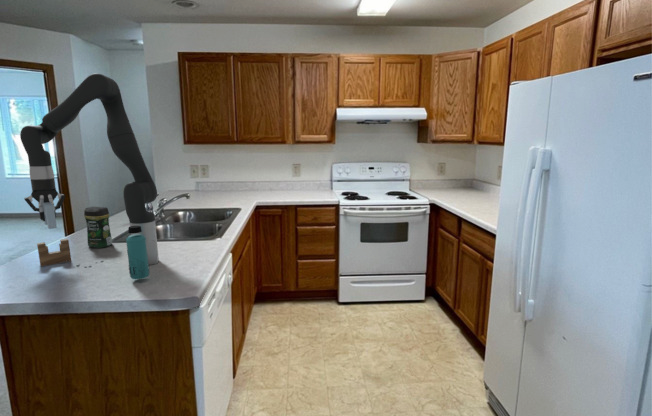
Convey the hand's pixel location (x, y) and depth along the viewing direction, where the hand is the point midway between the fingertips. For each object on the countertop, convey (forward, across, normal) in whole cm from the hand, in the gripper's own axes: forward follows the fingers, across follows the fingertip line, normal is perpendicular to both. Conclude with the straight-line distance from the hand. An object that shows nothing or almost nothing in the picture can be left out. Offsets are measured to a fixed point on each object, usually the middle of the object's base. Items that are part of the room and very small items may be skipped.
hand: (48, 220), depth 150 cm
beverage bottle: (+17, -19, +46) cm, 52 cm away
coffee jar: (+17, -19, -10) cm, 28 cm away
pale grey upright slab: (+2, 0, +4) cm, 4 cm away
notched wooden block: (+17, 0, +4) cm, 18 cm away
